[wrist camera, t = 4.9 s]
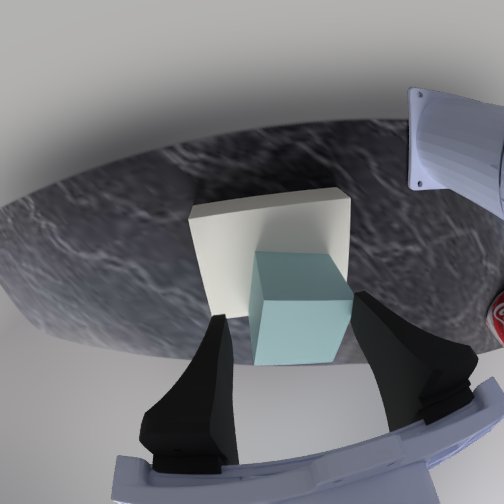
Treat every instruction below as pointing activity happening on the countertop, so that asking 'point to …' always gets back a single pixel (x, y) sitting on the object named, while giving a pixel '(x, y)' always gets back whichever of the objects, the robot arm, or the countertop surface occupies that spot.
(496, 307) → the soda can
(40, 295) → the countertop surface
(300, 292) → the teal cube
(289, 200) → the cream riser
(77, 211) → the countertop surface
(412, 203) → the countertop surface
